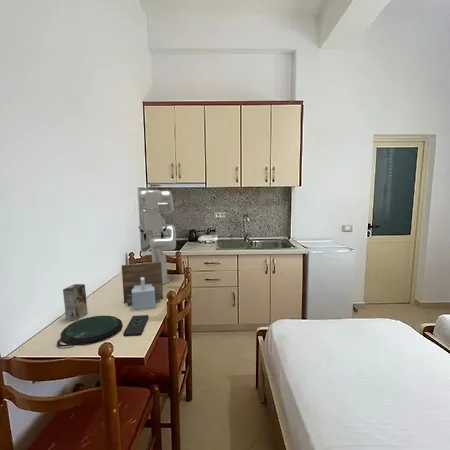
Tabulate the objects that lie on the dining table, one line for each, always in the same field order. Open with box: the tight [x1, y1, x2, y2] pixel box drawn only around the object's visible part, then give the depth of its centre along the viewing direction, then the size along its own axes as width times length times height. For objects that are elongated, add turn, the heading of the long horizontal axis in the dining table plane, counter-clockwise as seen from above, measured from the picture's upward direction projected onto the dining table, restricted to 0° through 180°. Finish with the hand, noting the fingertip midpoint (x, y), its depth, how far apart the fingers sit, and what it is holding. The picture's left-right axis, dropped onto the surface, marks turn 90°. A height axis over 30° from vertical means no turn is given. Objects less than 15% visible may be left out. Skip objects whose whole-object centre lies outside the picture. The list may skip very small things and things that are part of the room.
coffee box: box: [62, 283, 88, 321], centre depth 161 cm, size 9×6×16 cm
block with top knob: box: [132, 277, 157, 311], centre depth 174 cm, size 12×12×16 cm
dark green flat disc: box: [56, 315, 123, 348], centre depth 143 cm, size 26×3×30 cm
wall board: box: [121, 262, 164, 307], centre depth 178 cm, size 7×22×22 cm, turn 106°
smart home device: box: [122, 314, 149, 337], centre depth 148 cm, size 8×2×20 cm
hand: (153, 239), depth 188 cm, fingers open, 9 cm apart
